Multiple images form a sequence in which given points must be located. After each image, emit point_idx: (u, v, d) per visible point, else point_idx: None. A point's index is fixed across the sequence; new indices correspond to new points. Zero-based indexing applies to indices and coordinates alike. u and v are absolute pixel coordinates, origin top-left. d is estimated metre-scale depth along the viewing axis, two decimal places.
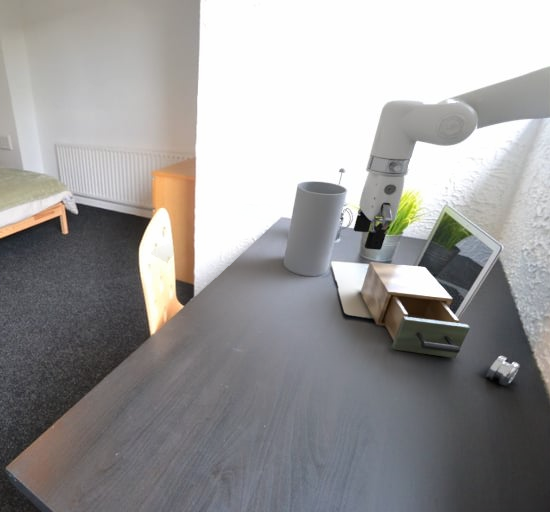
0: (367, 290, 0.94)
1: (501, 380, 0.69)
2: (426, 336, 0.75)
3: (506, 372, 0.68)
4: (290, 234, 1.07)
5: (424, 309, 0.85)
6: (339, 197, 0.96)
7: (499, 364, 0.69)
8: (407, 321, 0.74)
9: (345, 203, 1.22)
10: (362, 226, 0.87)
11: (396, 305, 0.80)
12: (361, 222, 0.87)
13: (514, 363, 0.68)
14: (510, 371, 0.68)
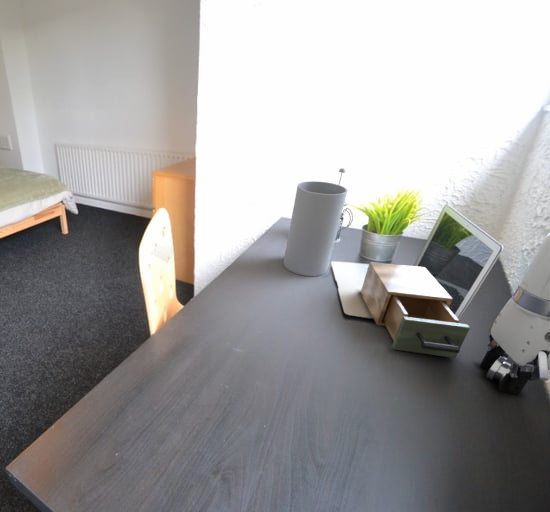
0: (367, 290, 0.94)
1: (501, 380, 0.68)
2: (426, 336, 0.75)
3: (506, 372, 0.68)
4: (290, 234, 1.07)
5: (424, 309, 0.85)
6: (340, 197, 0.96)
7: (499, 364, 0.69)
8: (407, 321, 0.74)
9: (345, 203, 1.22)
10: None
11: (396, 305, 0.80)
12: (492, 360, 0.72)
13: None
14: (510, 371, 0.68)
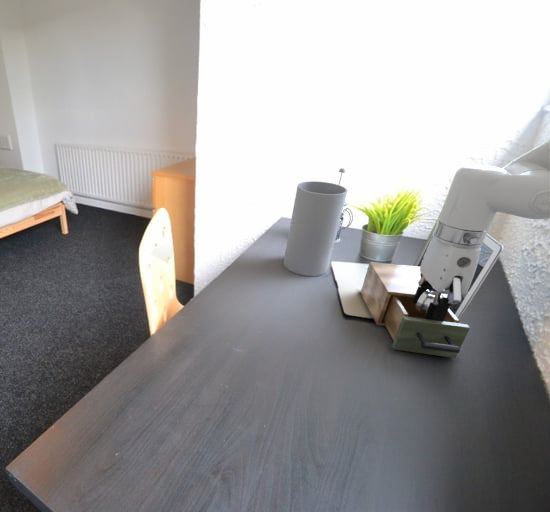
0: (367, 290, 0.94)
1: None
2: (426, 336, 0.75)
3: None
4: (290, 234, 1.07)
5: None
6: (340, 197, 0.96)
7: (425, 296, 0.75)
8: (407, 321, 0.74)
9: (345, 203, 1.22)
10: None
11: (396, 305, 0.80)
12: None
13: None
14: None
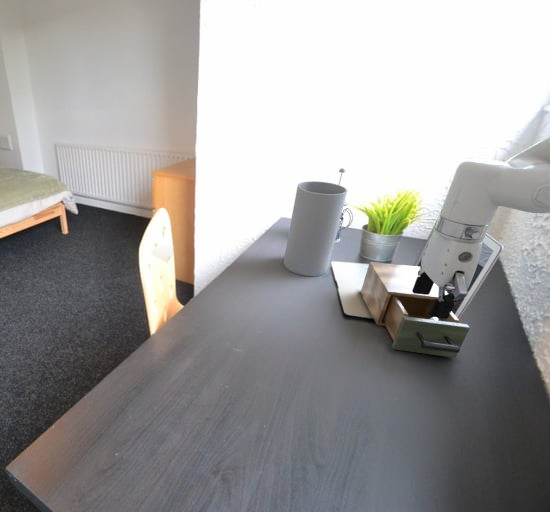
0: (367, 290, 0.94)
1: None
2: (426, 336, 0.75)
3: None
4: (290, 234, 1.07)
5: (424, 309, 0.85)
6: (340, 197, 0.96)
7: None
8: (407, 321, 0.74)
9: (345, 203, 1.22)
10: (422, 288, 0.80)
11: (396, 305, 0.80)
12: (422, 284, 0.79)
13: None
14: None
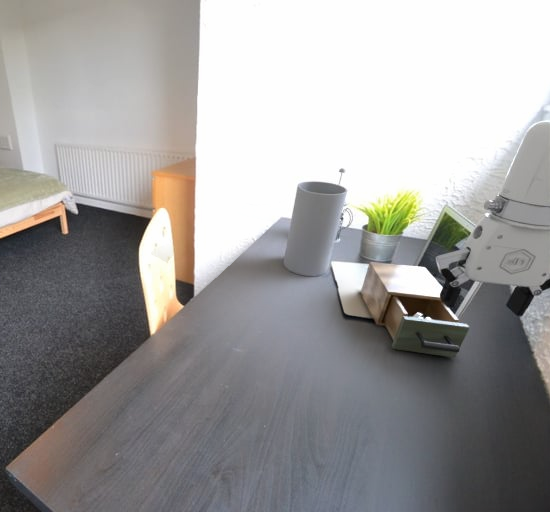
0: (367, 290, 0.94)
1: None
2: (426, 336, 0.75)
3: None
4: (290, 234, 1.07)
5: (424, 309, 0.85)
6: (340, 197, 0.96)
7: None
8: (407, 321, 0.74)
9: (345, 203, 1.22)
10: (514, 303, 0.60)
11: (396, 305, 0.80)
12: (515, 296, 0.60)
13: (428, 317, 0.78)
14: None
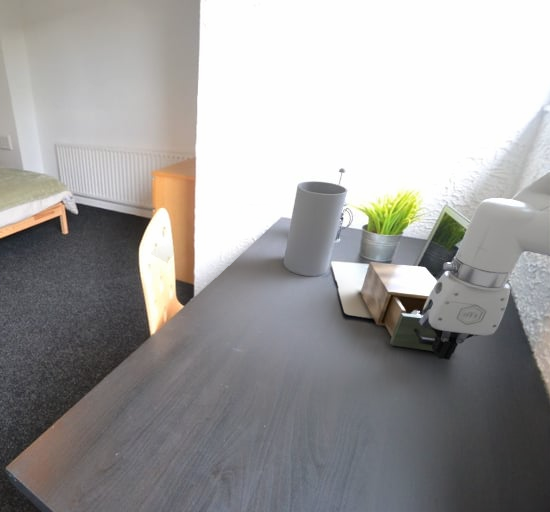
0: (367, 290, 0.94)
1: None
2: (424, 332, 0.76)
3: None
4: (290, 234, 1.07)
5: (422, 306, 0.86)
6: (340, 197, 0.96)
7: None
8: (405, 317, 0.75)
9: (345, 203, 1.22)
10: None
11: (394, 302, 0.81)
12: None
13: None
14: None
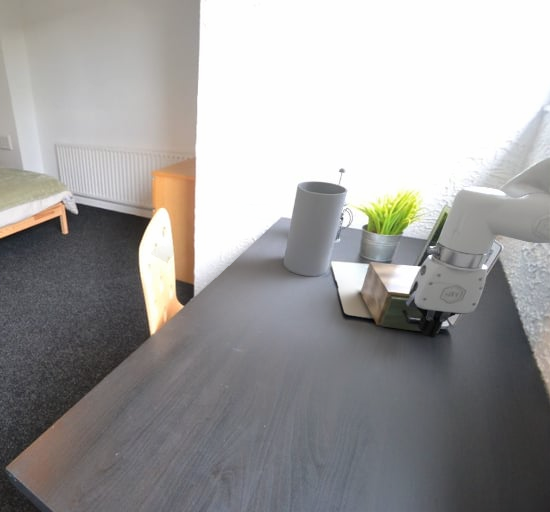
0: (367, 290, 0.94)
1: None
2: (411, 314, 0.82)
3: None
4: (290, 234, 1.07)
5: None
6: (340, 197, 0.96)
7: None
8: (394, 299, 0.81)
9: (345, 203, 1.22)
10: None
11: None
12: None
13: None
14: None
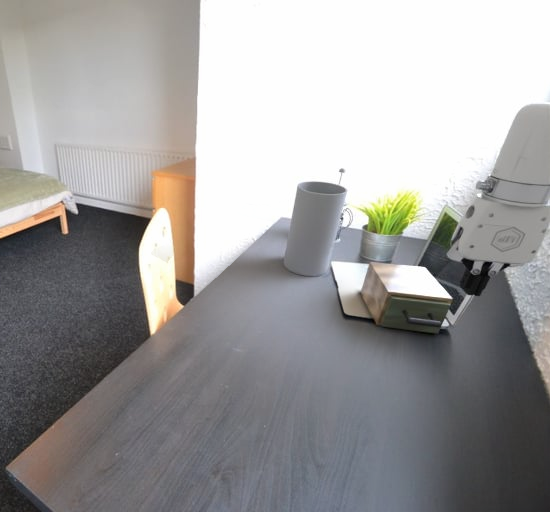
0: (367, 290, 0.94)
1: None
2: (411, 314, 0.82)
3: None
4: (290, 234, 1.07)
5: None
6: (340, 197, 0.96)
7: None
8: (394, 299, 0.81)
9: (345, 203, 1.22)
10: None
11: None
12: None
13: None
14: None
